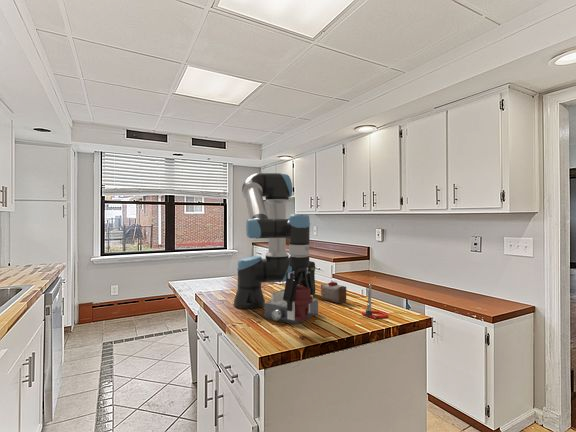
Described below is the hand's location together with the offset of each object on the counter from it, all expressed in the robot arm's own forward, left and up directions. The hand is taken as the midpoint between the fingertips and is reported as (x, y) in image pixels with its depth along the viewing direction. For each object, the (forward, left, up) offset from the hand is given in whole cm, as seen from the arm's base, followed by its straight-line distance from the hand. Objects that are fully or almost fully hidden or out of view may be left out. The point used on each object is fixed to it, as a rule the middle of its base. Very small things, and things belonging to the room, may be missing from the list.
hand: (299, 315), depth 121 cm
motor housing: (-14, +14, -6) cm, 21 cm away
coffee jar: (-30, +55, -7) cm, 63 cm away
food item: (-11, +50, -7) cm, 51 cm away
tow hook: (+16, +37, -7) cm, 41 cm away
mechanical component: (0, 0, -1) cm, 1 cm away
